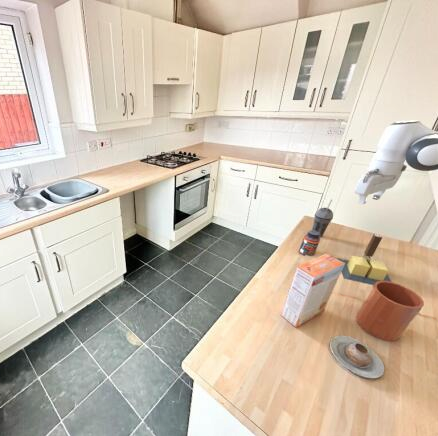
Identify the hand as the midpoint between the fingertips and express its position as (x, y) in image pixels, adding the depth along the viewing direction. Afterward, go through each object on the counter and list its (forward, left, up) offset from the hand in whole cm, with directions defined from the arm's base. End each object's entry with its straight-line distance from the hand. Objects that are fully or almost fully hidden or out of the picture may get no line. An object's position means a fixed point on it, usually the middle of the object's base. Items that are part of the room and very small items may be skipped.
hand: (368, 201), depth 96 cm
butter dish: (-3, +14, -26) cm, 29 cm away
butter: (-3, +14, -26) cm, 29 cm away
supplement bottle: (+16, +7, -26) cm, 31 cm away
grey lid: (+9, +56, -26) cm, 62 cm away
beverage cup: (+10, -11, -26) cm, 30 cm away
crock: (0, +41, -26) cm, 48 cm away
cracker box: (+21, +45, -26) cm, 55 cm away
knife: (-3, +10, -25) cm, 27 cm away
